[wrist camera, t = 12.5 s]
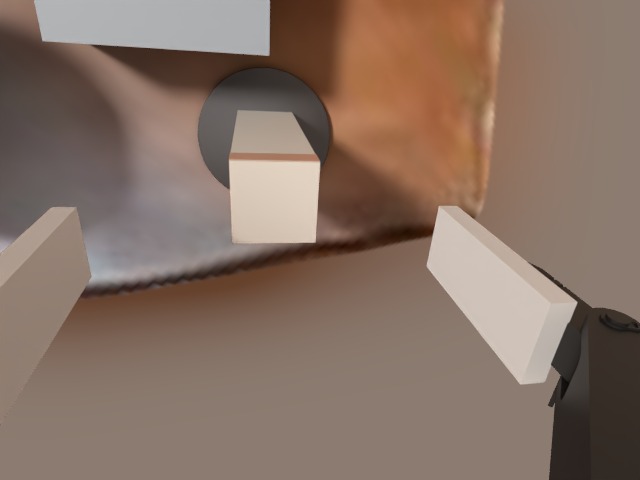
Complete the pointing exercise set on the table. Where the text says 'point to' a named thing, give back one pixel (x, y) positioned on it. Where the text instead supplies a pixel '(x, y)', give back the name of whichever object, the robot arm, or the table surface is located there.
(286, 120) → the plug
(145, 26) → the socket block
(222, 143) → the coaster
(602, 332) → the robot arm
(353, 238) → the table surface
